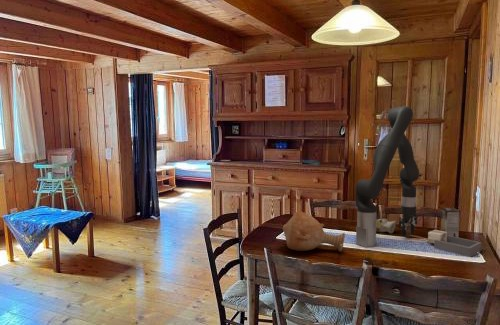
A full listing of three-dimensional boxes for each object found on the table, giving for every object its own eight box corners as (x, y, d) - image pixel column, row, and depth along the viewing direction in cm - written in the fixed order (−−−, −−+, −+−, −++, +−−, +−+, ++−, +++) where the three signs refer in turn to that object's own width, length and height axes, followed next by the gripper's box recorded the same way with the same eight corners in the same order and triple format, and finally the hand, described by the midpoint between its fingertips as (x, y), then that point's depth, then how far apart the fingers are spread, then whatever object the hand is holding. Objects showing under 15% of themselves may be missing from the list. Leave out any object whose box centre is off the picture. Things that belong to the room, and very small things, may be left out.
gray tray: (469, 256, 166) (469, 248, 166) (434, 248, 179) (434, 240, 179) (481, 250, 174) (481, 242, 174) (446, 242, 187) (446, 235, 186)
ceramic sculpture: (393, 220, 199) (366, 218, 207) (394, 236, 199) (366, 233, 208) (397, 216, 208) (371, 214, 216) (398, 231, 208) (371, 229, 216)
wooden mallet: (440, 246, 180) (440, 234, 179) (402, 237, 195) (402, 226, 195) (446, 243, 184) (447, 232, 183) (409, 235, 200) (409, 224, 199)
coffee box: (440, 236, 198) (441, 207, 197) (453, 236, 197) (454, 207, 195) (445, 241, 189) (446, 210, 188) (459, 241, 188) (460, 211, 186)
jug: (284, 218, 195) (342, 226, 190) (279, 253, 185) (340, 262, 181) (285, 203, 178) (348, 211, 173) (279, 240, 168) (346, 250, 164)
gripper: (409, 201, 202) (408, 230, 204) (394, 205, 193) (394, 235, 195) (422, 204, 196) (421, 233, 198) (408, 207, 188) (407, 238, 189)
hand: (408, 234), depth 196 cm, fingers open, 8 cm apart
